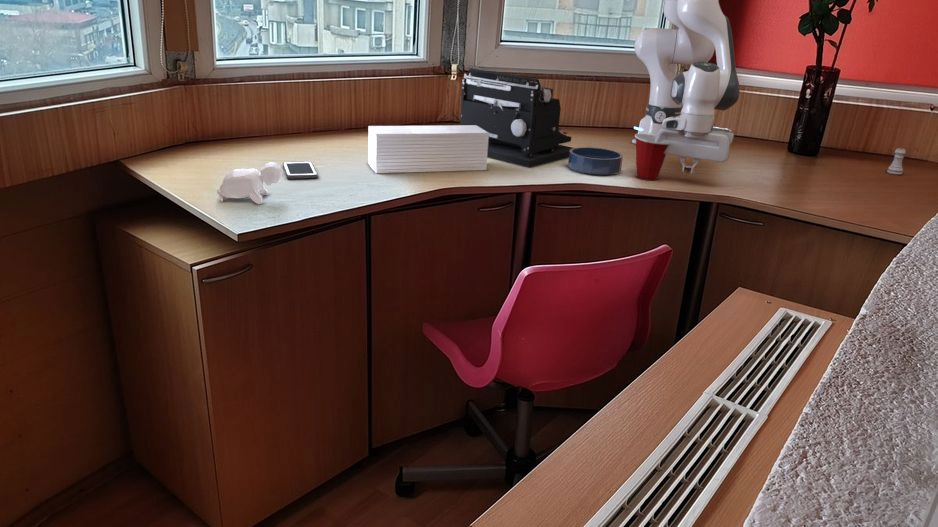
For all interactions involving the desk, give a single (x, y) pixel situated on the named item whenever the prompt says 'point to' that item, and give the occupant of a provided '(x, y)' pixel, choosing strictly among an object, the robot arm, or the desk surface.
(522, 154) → the typewriter
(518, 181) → the desk surface
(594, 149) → the bowl
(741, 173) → the desk surface
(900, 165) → the rook chess piece
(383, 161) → the stack of papers
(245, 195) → the white animal figurine
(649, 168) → the plastic cup
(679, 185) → the desk surface
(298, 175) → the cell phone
